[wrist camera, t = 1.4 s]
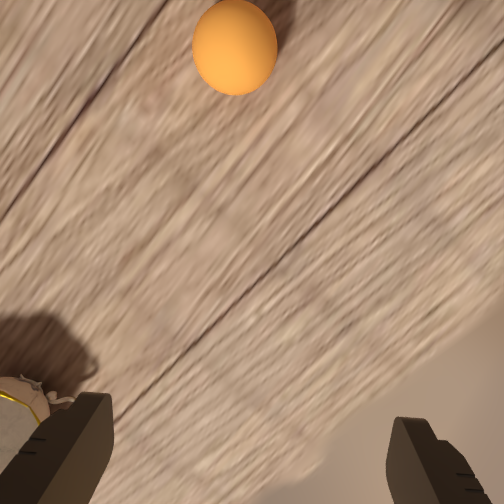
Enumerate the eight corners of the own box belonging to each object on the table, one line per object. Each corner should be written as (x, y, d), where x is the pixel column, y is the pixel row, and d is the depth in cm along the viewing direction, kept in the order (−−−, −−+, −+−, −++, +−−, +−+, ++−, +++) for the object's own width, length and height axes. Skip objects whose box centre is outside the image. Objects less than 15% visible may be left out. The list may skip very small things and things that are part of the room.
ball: (195, 91, 26) (180, 83, 21) (203, 6, 25) (190, -23, 20) (268, 103, 26) (271, 98, 21) (281, 20, 25) (287, -6, 20)
